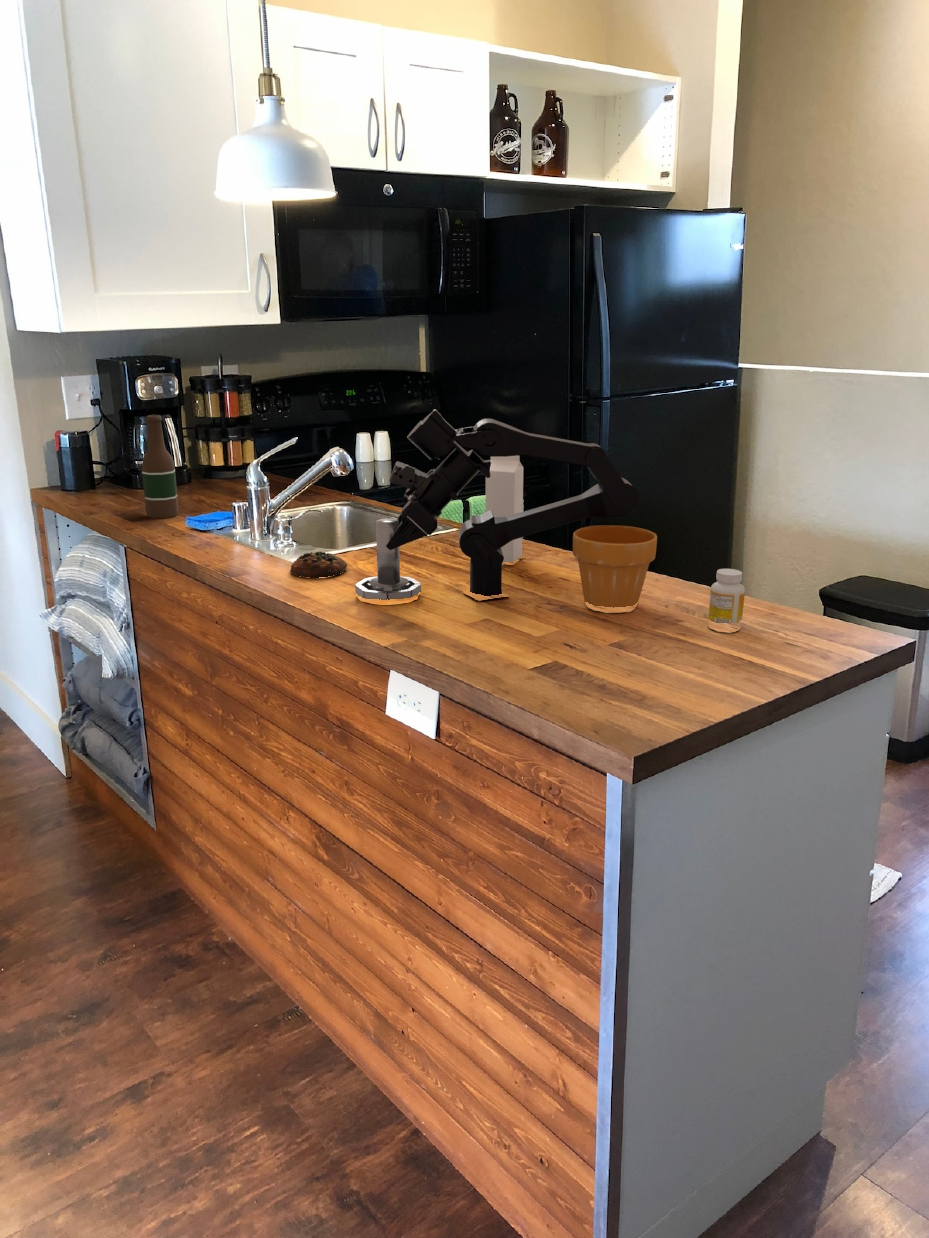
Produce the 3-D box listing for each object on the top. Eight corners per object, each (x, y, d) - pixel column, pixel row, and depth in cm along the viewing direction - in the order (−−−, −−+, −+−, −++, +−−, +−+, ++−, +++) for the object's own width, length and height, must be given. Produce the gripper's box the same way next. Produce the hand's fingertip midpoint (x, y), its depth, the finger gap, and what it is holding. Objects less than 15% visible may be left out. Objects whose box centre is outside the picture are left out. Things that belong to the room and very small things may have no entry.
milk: (513, 566, 201) (515, 456, 194) (484, 563, 203) (485, 454, 196) (521, 559, 206) (524, 451, 199) (493, 556, 208) (495, 449, 201)
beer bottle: (139, 517, 243) (129, 416, 236) (157, 511, 250) (148, 413, 243) (167, 519, 241) (158, 418, 234) (185, 513, 248) (177, 414, 241)
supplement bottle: (718, 635, 161) (723, 577, 158) (701, 625, 166) (705, 568, 163) (748, 632, 163) (753, 574, 160) (730, 622, 167) (735, 566, 164)
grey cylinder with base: (417, 595, 179) (416, 523, 175) (375, 600, 176) (373, 527, 172) (402, 584, 186) (400, 514, 182) (361, 588, 183) (359, 518, 179)
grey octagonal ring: (429, 600, 179) (429, 588, 178) (369, 608, 174) (369, 596, 173) (405, 584, 188) (405, 573, 187) (348, 592, 184) (348, 579, 183)
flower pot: (656, 598, 180) (660, 527, 176) (648, 622, 167) (653, 546, 163) (577, 592, 184) (580, 522, 180) (564, 615, 171) (566, 540, 167)
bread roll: (309, 582, 189) (306, 556, 189) (280, 578, 198) (277, 552, 197) (358, 575, 196) (356, 549, 195) (328, 571, 205) (326, 546, 204)
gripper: (416, 438, 182) (358, 500, 185) (414, 454, 164) (350, 522, 167) (461, 480, 184) (403, 541, 188) (464, 501, 167) (400, 567, 170)
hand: (389, 541), depth 178 cm, fingers open, 9 cm apart
